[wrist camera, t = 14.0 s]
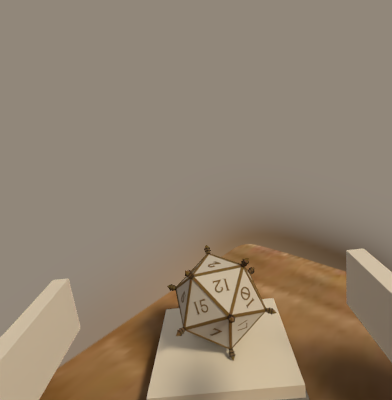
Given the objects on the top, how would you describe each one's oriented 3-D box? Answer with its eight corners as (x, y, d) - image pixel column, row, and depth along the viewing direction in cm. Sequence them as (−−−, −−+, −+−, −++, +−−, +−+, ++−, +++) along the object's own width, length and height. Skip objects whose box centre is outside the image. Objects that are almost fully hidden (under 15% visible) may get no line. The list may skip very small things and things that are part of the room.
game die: (216, 360, 32) (195, 262, 36) (298, 343, 28) (264, 236, 32) (159, 380, 24) (140, 254, 29) (260, 361, 21) (222, 219, 25)
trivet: (147, 418, 24) (143, 401, 24) (167, 321, 36) (164, 308, 35) (310, 405, 23) (308, 386, 23) (276, 310, 35) (274, 296, 34)
